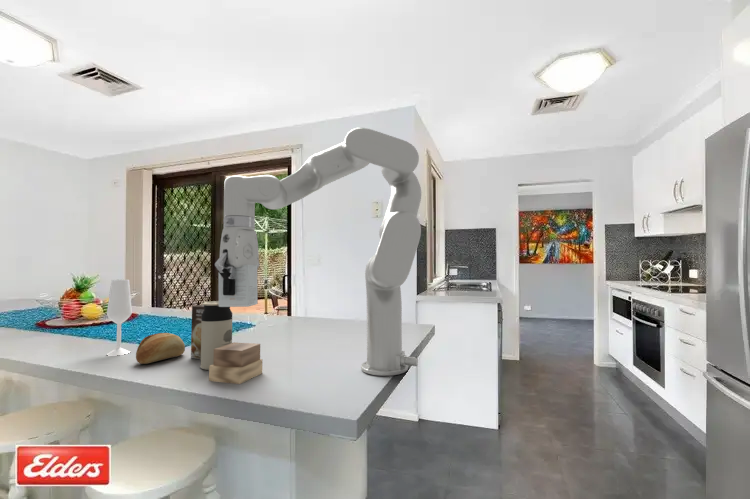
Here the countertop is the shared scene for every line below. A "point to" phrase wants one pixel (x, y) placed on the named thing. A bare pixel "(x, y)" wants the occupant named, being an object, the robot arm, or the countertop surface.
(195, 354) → the coffee box
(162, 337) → the bread roll
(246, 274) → the small box
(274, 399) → the countertop surface
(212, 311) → the travel mug
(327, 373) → the countertop surface
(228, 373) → the oak slab
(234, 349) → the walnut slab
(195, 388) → the countertop surface
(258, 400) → the countertop surface
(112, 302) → the champagne flute
